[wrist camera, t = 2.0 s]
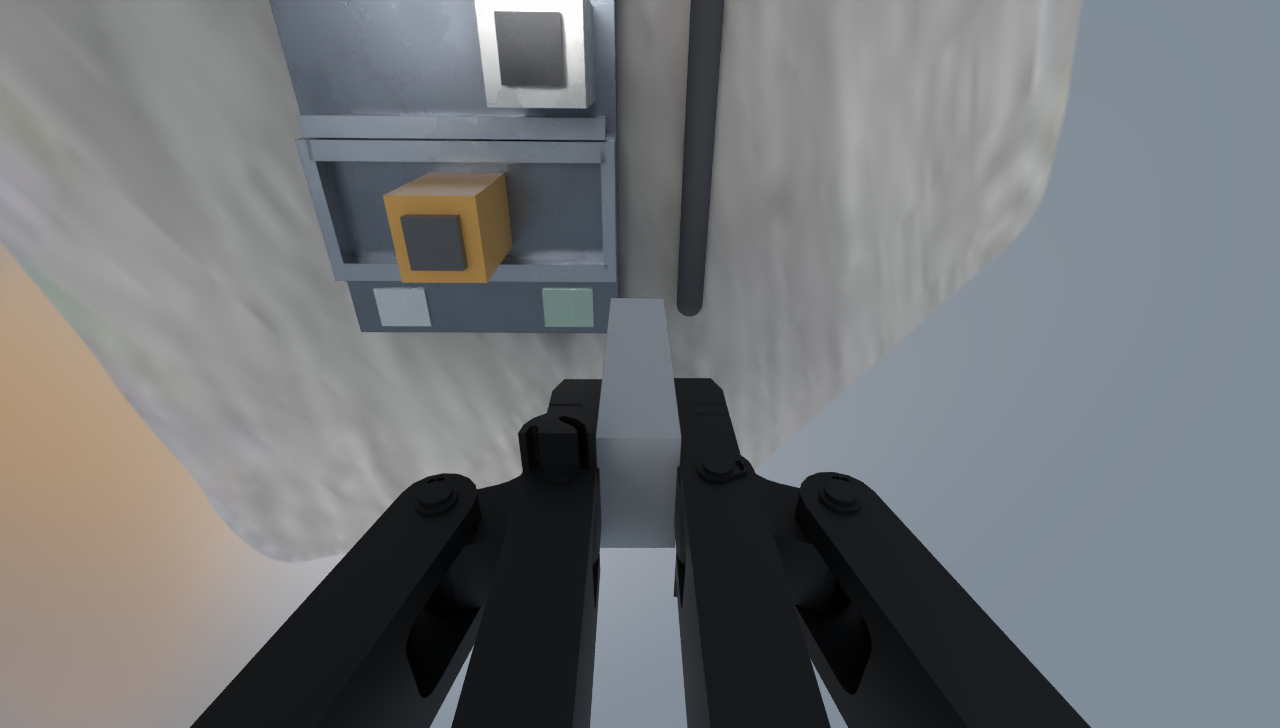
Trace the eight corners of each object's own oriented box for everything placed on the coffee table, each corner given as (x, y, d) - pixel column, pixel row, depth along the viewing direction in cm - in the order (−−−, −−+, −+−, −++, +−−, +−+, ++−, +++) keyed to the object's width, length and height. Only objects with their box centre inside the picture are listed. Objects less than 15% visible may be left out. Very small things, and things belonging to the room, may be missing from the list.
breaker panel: (281, -44, 25) (130, -94, 18) (615, -40, 25) (607, -87, 18) (375, 318, 34) (302, 387, 27) (618, 319, 35) (614, 388, 27)
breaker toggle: (429, 172, 28) (377, 198, 22) (504, 172, 28) (471, 199, 22) (442, 245, 30) (397, 287, 24) (512, 246, 30) (483, 287, 24)
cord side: (690, -21, 26) (693, -27, 24) (723, -21, 26) (728, -26, 24) (675, 310, 34) (677, 320, 33) (699, 310, 34) (702, 320, 33)
